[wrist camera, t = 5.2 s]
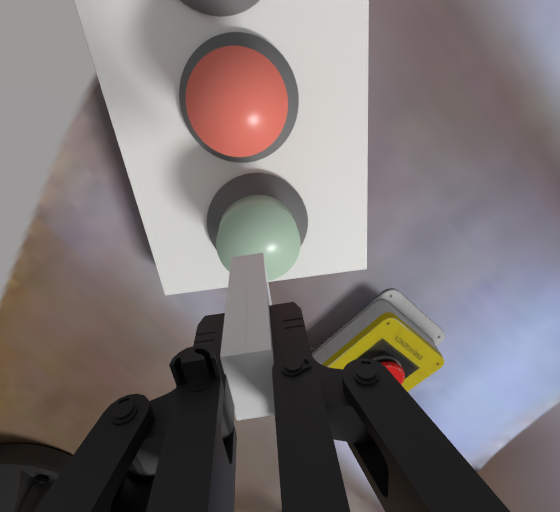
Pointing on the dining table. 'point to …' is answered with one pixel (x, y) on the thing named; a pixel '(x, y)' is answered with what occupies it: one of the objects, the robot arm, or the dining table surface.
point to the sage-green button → (259, 234)
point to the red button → (236, 101)
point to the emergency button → (388, 340)
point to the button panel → (226, 169)
